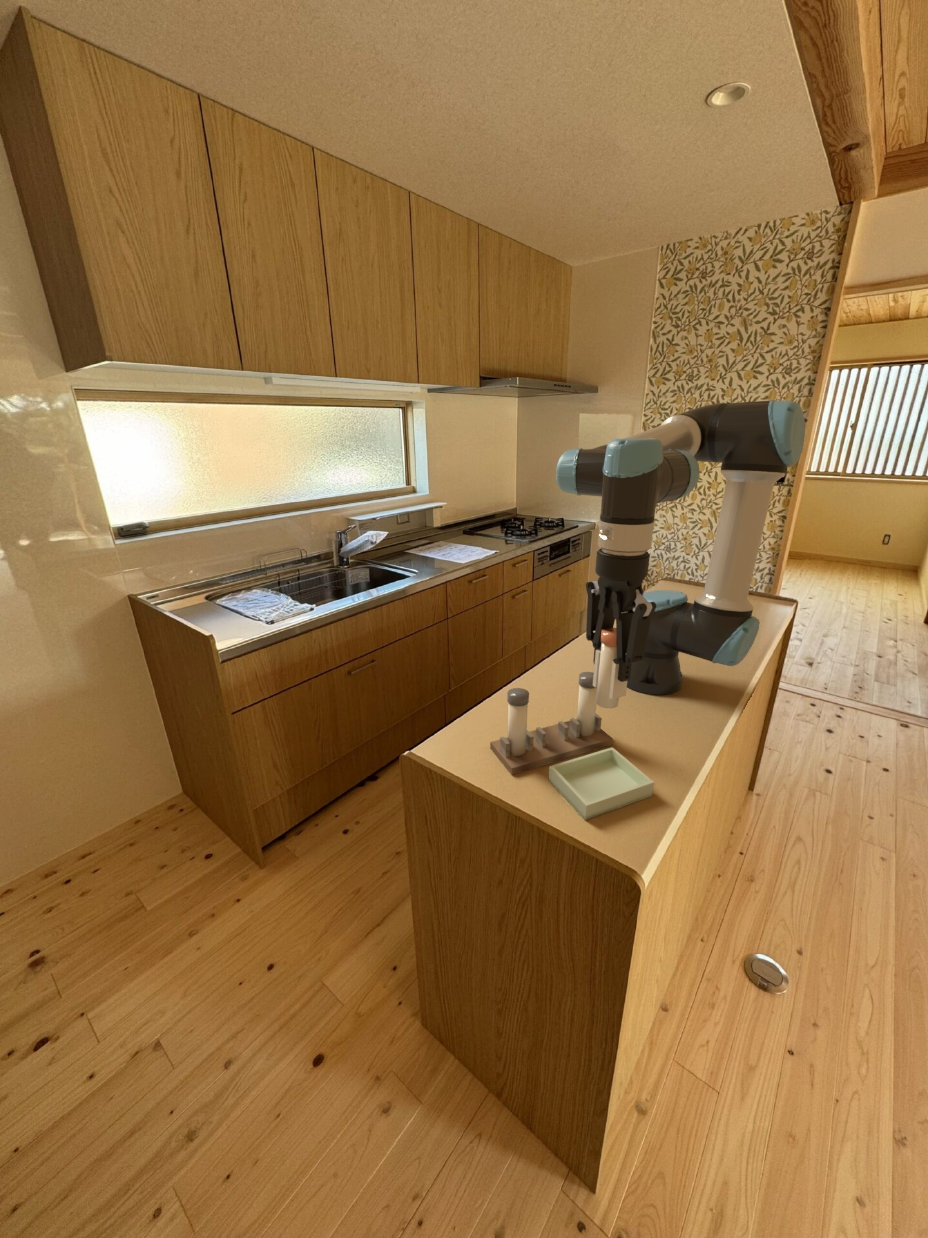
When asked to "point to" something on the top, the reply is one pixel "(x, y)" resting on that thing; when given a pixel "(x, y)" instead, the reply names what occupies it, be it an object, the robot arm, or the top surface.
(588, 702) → the fuse
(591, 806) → the tray
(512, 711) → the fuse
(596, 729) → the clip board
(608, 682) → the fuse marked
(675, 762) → the top surface
